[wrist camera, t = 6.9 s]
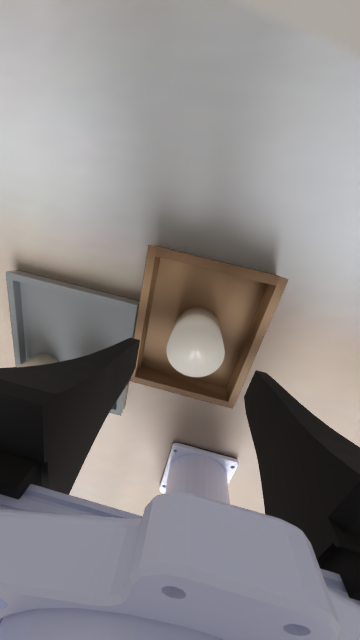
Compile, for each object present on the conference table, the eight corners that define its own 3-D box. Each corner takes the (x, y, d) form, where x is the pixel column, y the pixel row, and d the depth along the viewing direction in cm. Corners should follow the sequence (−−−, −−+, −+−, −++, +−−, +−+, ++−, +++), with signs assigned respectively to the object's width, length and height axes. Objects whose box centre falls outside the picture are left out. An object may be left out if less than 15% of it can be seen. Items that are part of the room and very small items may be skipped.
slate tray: (124, 407, 22) (120, 415, 21) (27, 380, 23) (17, 387, 22) (141, 301, 18) (137, 305, 17) (17, 270, 18) (5, 271, 17)
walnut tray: (229, 390, 20) (232, 408, 18) (136, 365, 20) (127, 380, 18) (276, 275, 16) (288, 279, 13) (156, 245, 16) (148, 245, 14)
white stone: (211, 352, 18) (214, 383, 14) (170, 341, 18) (161, 368, 14) (226, 314, 17) (233, 335, 12) (181, 301, 17) (173, 318, 13)
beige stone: (63, 386, 22) (34, 415, 18) (31, 378, 22) (-4, 404, 18) (63, 358, 20) (32, 383, 17) (29, 349, 20) (-9, 371, 17)
